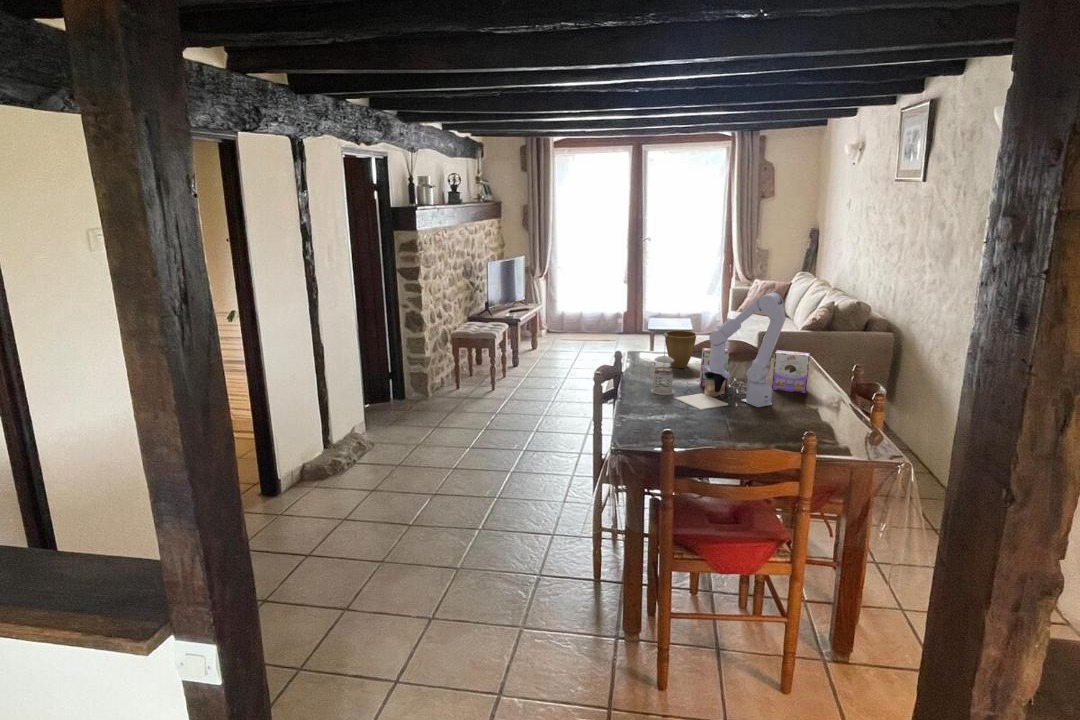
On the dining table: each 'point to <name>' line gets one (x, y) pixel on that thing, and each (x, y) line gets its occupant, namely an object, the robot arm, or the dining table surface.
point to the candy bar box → (706, 361)
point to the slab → (712, 388)
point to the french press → (662, 375)
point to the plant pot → (680, 347)
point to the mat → (701, 401)
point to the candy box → (791, 371)
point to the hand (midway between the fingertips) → (714, 390)
